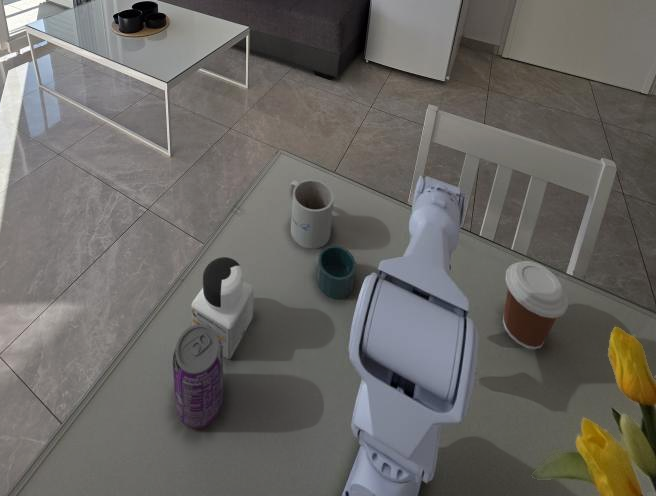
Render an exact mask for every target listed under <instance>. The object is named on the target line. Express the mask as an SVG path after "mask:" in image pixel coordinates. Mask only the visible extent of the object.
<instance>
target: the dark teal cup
mask: <svg viewBox="0 0 656 496" xmlns="http://www.w3.org/2000/svg"><path fill="white" fill-rule="evenodd" d="M356 266H357V263H356V260H355V257H354V255H353V254H352V253H351V252H350V250H348V249H347V248H345V247H343V246H340V245H328V246H326V247H324V248H323V249H322V250H321V251H320V253H319V254H318V261H317V271H316V282H317V286H318V288H319V289H320V291H321V292H322V293H323V294H324V295H325V296H326V297H328V298H330V299H334V300H342V299H345V298H347V297H348V296H349V295H350V294H351V293H352V292H353V289H354V286H355V285H354V284H355V277H356V269H357V268H356Z"/></svg>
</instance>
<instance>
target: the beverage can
mask: <svg viewBox="0 0 656 496" xmlns="http://www.w3.org/2000/svg"><path fill="white" fill-rule="evenodd" d="M172 373H173V389H174V390H173V391H174V392H173V393H174V406H175V412H176V413H175V414H176V415H177V418H178V420H179V421H180V422H181V423H182V424H183V425H184V426H185V427H187V428H190V429H194V430H195V429H202V428H204V427H207V426H208V425H210V424H211V423H212V422H213V421H214V420H215V419H216V418H217V416H218V414H219V413H220V411H221V410H222V409H221V408H222V406H223V401H224V356H223V351H222V346H221V343H220V341H219V339H218V336H217V334H216V332H215V331H214V330H213V329H212V328H211V327H209V326H207V325H204V324H197V325H193V326H192V325H191V326H189V327H188V328H186V329H185V330H184V331H183V332H182V333H181V334H180V336H179V337H178V339H177V341H176V345H175V348H174V351H173V355H172Z"/></svg>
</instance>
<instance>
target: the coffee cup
mask: <svg viewBox="0 0 656 496" xmlns="http://www.w3.org/2000/svg"><path fill="white" fill-rule="evenodd" d="M505 283H506V286H507V290H506V291H507V292H506V297H505V306H504V311H503V315H502V317H503V318H502V324H503V326H504V329H505V331H506V332H507V334H508V335H509V337H510V338H511V339H513V340H514V341H515V342H516V343H517V344H518V345H520V346H522V347H524V348H525V349H529V350H537V349H540V348H542V347H543V345H544V344H545V341H546V339H547V337H548V335H549V333H550V331H551V329H552V328H553V325H554V323H555V321H556V320H557V318H559V317H562V316H564V314H565V313H566V311H567V309H568V307H569V306H568V296H567V294H566V292H565V290H564V288H563V286H562V284H561V282H560V280H559V278H558V277H557V276H556V275H555V274H554V273H553V272H552V271H550V269H548V268H547V267H545V266H544V265H542V264H540V263H537V262H535V261H531V260H523V261H519V262H514V263H511V264H510V265H509V266H508V268H507V269H506V271H505Z"/></svg>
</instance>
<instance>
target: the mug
mask: <svg viewBox="0 0 656 496" xmlns="http://www.w3.org/2000/svg"><path fill="white" fill-rule="evenodd" d="M289 199H290V203H291V218H290V234H291V237H292V238H293V240H294V241H295V243H297V244H298V245H299V246H301V247H303V248H305V249H310V250H312V249H313V250H315V249H320V248H322V247H324V246H325V245H327V243H329V240H330V237H331V231H332V221H333V220H332V219H333V209H334V199H335V197H334V192H333V190H332V189H331V187H330V186H329V185H328V184H327V183H325V182H323V181H320V180H317V179H305V180H302V181H299V180H293V181H291V183H290V185H289Z"/></svg>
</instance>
